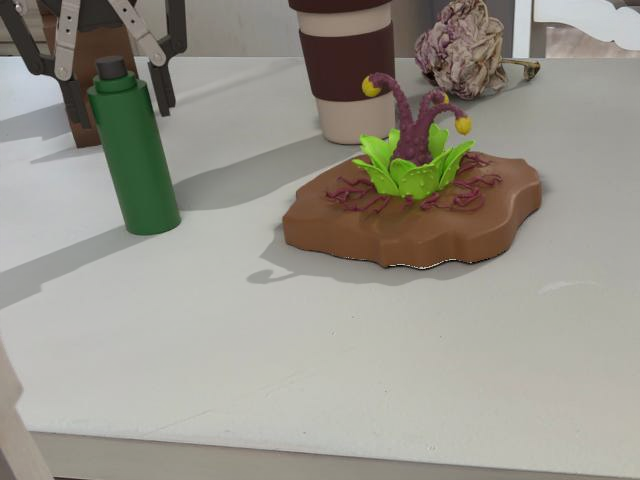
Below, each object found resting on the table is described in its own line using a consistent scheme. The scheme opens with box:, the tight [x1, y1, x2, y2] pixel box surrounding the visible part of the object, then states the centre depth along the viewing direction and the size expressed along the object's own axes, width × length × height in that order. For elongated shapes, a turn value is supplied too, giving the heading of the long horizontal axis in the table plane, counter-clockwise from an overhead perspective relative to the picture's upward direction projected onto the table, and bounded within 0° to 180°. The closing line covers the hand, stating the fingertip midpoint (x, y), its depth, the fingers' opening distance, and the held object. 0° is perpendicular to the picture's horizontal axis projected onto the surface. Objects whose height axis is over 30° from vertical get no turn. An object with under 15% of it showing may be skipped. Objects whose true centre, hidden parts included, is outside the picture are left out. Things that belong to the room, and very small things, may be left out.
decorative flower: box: [413, 0, 541, 101], centre depth 108 cm, size 10×10×15 cm
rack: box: [35, 0, 140, 149], centre depth 105 cm, size 13×8×12 cm, turn 20°
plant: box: [281, 72, 543, 268], centre depth 80 cm, size 20×20×11 cm
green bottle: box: [87, 56, 182, 236], centre depth 82 cm, size 5×5×13 cm
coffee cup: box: [287, 0, 397, 145], centre depth 97 cm, size 10×10×15 cm
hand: (125, 119), depth 81 cm, fingers open, 5 cm apart
